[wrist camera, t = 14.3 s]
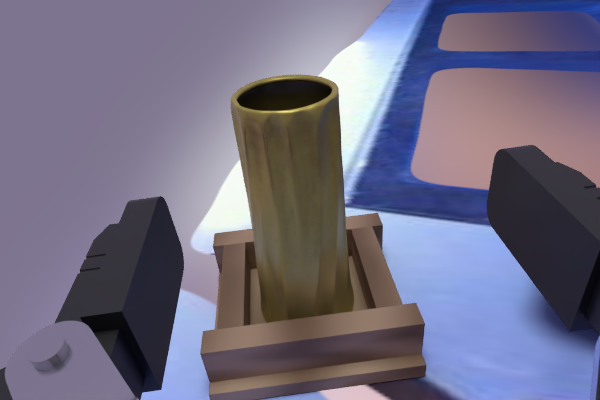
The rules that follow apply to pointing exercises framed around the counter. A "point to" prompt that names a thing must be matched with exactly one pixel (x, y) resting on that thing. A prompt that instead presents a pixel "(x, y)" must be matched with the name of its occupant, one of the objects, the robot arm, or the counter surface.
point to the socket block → (310, 327)
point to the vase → (295, 194)
